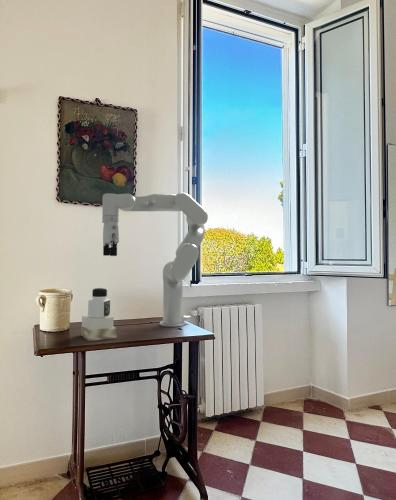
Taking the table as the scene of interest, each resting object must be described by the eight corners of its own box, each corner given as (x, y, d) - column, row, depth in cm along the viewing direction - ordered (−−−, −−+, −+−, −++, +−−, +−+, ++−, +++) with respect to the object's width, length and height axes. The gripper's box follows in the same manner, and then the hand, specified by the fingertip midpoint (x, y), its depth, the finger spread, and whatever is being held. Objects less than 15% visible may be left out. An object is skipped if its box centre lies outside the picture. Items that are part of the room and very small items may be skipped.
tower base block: (107, 333, 173) (107, 323, 173) (116, 338, 163) (117, 328, 163) (80, 336, 167) (80, 325, 167) (88, 342, 156) (88, 331, 156)
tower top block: (103, 323, 172) (104, 313, 172) (113, 327, 164) (113, 317, 164) (81, 326, 166) (82, 315, 166) (90, 330, 158) (90, 319, 158)
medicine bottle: (104, 318, 160) (104, 289, 160) (87, 317, 161) (88, 288, 161) (110, 315, 167) (110, 288, 167) (94, 314, 168) (95, 287, 168)
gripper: (124, 219, 178) (124, 256, 178) (111, 221, 193) (111, 255, 193) (108, 218, 174) (108, 256, 174) (97, 220, 189) (96, 255, 189)
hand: (109, 255), depth 183 cm, fingers open, 9 cm apart
